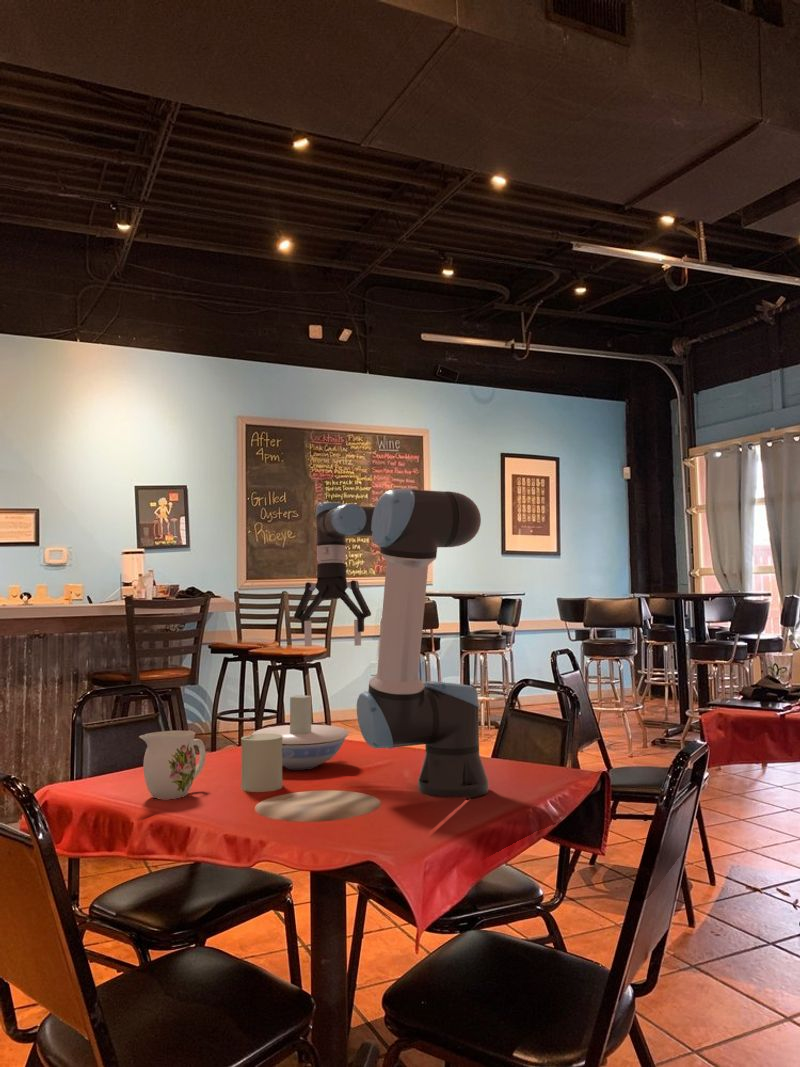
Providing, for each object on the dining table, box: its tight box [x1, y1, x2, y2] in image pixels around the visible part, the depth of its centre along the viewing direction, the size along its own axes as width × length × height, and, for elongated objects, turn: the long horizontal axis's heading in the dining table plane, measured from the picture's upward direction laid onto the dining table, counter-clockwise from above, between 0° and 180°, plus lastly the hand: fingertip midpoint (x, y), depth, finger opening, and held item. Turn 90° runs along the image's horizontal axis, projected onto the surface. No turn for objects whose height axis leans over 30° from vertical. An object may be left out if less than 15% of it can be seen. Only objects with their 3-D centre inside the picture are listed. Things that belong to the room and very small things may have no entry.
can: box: [240, 734, 283, 793], centre depth 178 cm, size 9×9×12 cm
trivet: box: [254, 790, 382, 823], centre depth 161 cm, size 25×25×1 cm
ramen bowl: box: [282, 737, 347, 771], centre depth 202 cm, size 25×23×8 cm
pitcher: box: [138, 730, 207, 800], centre depth 174 cm, size 11×18×14 cm, turn 148°
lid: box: [251, 694, 349, 744], centre depth 203 cm, size 24×24×10 cm
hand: (332, 646), depth 204 cm, fingers open, 13 cm apart
